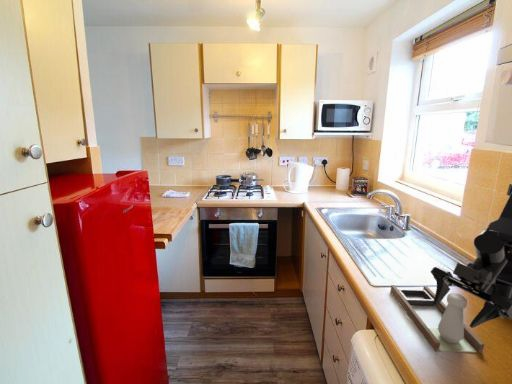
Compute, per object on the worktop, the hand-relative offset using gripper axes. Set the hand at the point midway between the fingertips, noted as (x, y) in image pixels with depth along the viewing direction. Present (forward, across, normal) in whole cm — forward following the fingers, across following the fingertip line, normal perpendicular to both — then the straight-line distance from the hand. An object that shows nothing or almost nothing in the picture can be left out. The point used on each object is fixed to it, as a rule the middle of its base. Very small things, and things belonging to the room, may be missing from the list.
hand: (451, 315), depth 73 cm
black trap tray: (0, -16, +12) cm, 20 cm away
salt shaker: (+5, 0, +6) cm, 8 cm away
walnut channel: (+2, -8, +9) cm, 12 cm away
